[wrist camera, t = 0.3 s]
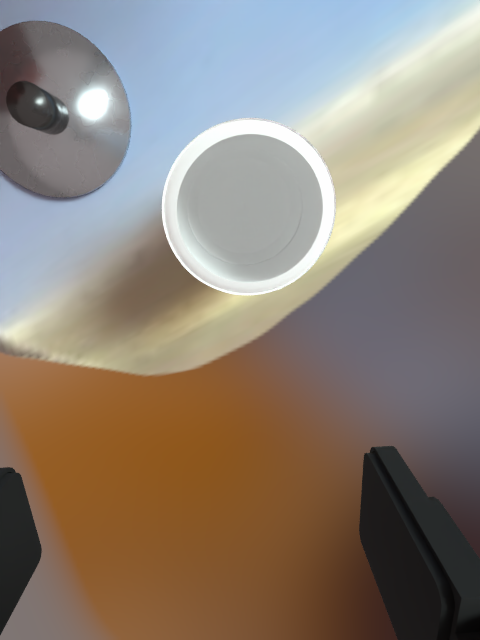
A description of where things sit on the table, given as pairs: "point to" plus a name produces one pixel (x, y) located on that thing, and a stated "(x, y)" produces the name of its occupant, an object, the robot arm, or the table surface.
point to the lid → (59, 111)
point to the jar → (248, 206)
